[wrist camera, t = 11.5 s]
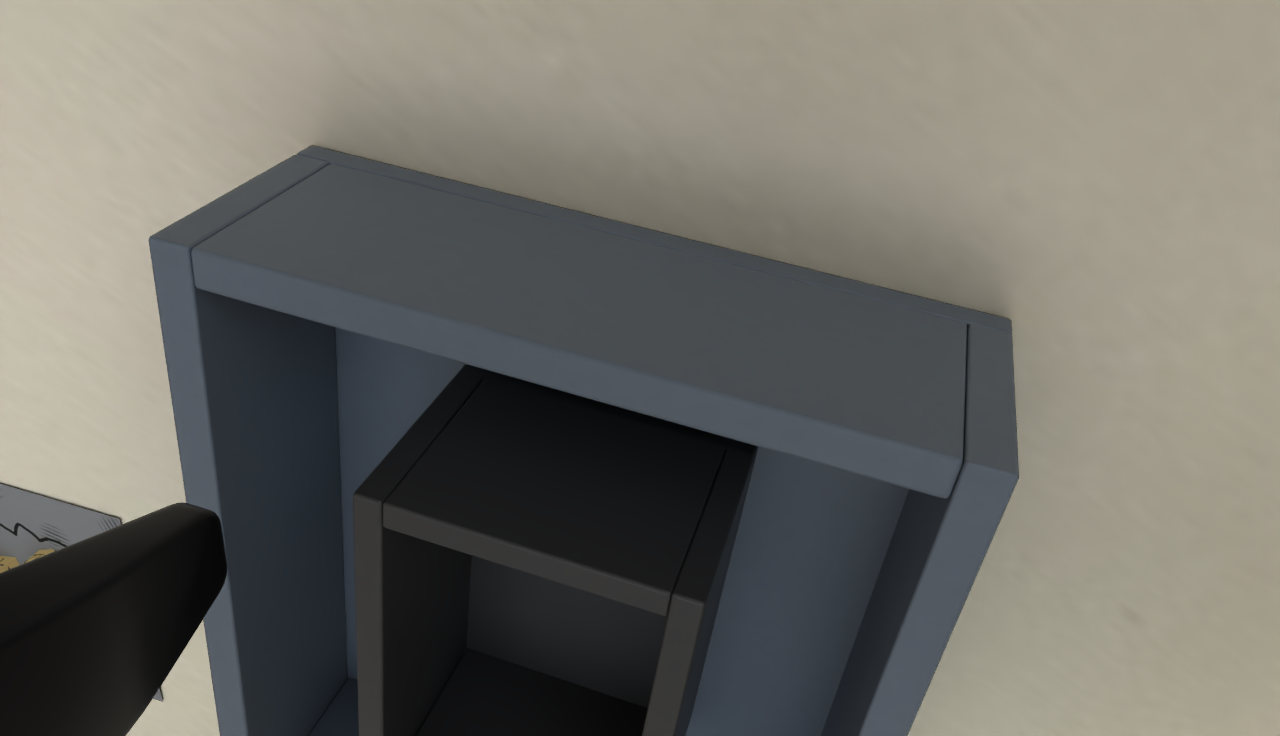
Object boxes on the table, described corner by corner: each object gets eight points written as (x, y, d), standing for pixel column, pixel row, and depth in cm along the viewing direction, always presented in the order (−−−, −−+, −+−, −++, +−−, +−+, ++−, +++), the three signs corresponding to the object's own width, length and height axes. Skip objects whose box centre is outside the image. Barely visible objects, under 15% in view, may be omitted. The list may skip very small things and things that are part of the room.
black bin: (760, 440, 21) (705, 604, 17) (690, 718, 26) (635, 898, 22) (468, 358, 22) (351, 493, 18) (453, 639, 27) (359, 796, 23)
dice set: (-59, 499, 32) (-114, 538, 30) (80, 541, 31) (31, 584, 29) (-18, 615, 34) (-66, 656, 33) (111, 656, 33) (68, 701, 32)
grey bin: (1012, 318, 19) (1020, 476, 15) (813, 835, 28) (782, 1026, 24) (311, 143, 21) (146, 236, 17) (335, 671, 30) (230, 816, 26)
